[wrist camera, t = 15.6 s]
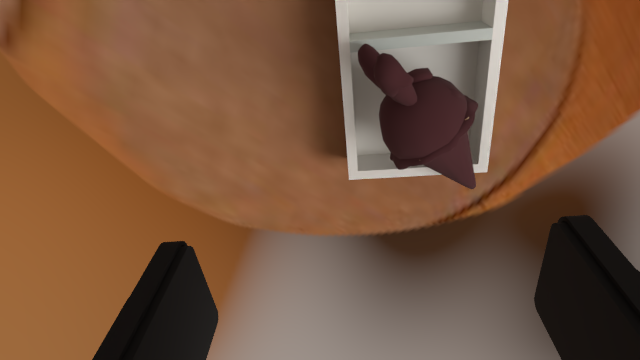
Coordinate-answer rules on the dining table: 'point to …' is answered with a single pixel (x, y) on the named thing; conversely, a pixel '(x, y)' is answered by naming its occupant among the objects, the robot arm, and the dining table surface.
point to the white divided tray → (413, 53)
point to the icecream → (422, 117)
